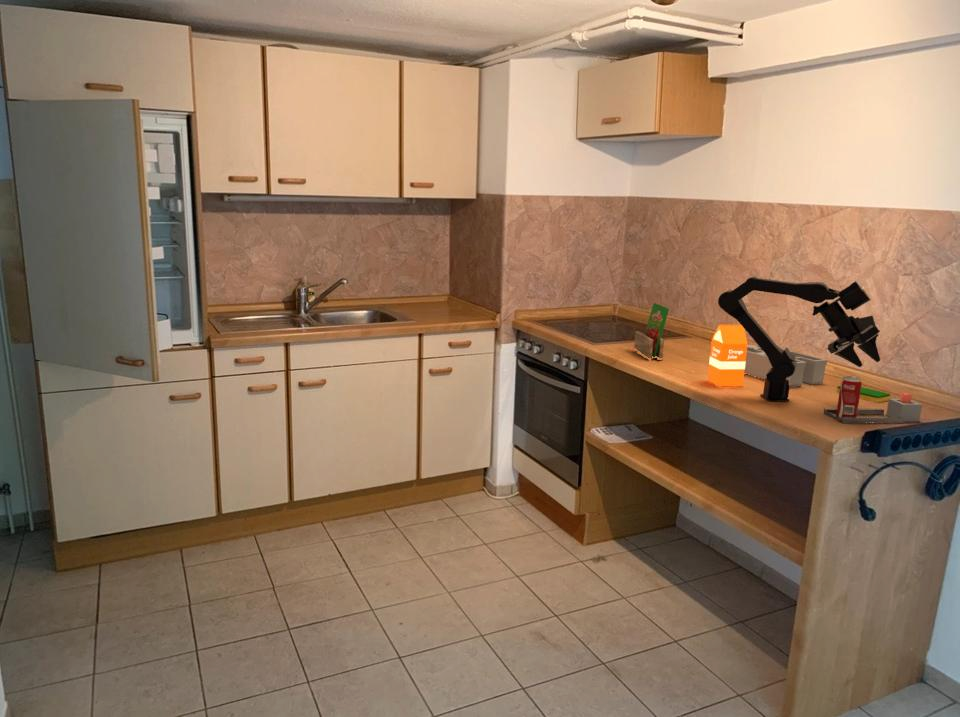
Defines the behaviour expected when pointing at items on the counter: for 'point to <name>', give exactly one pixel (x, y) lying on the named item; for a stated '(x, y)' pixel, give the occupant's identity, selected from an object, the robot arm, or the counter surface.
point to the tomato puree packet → (656, 325)
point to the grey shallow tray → (863, 419)
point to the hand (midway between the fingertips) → (869, 363)
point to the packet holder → (647, 345)
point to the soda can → (849, 396)
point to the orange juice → (728, 356)
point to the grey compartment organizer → (805, 371)
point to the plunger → (905, 397)
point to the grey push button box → (904, 410)
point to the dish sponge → (872, 395)
